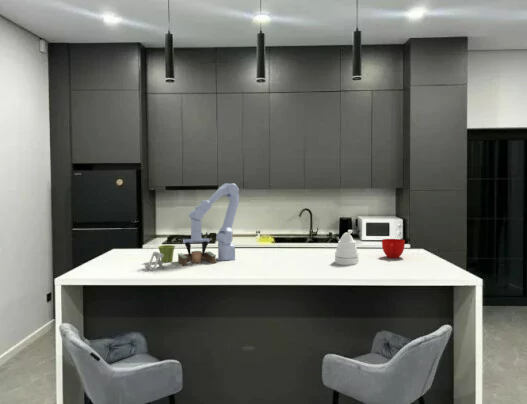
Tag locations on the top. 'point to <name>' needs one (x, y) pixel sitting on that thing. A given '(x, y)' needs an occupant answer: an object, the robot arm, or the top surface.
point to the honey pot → (346, 250)
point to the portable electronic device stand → (158, 256)
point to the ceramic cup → (393, 247)
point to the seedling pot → (196, 256)
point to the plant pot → (167, 252)
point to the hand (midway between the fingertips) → (196, 255)
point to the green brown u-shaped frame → (207, 256)
